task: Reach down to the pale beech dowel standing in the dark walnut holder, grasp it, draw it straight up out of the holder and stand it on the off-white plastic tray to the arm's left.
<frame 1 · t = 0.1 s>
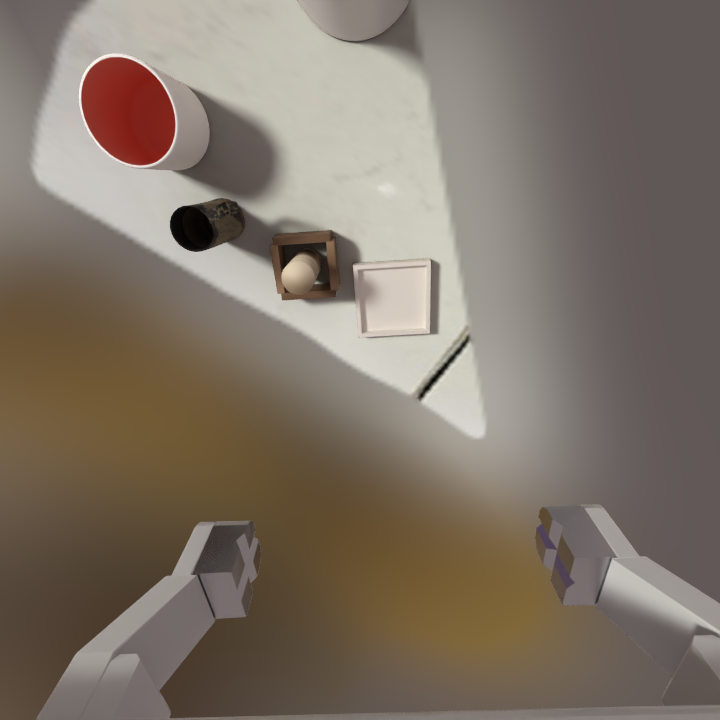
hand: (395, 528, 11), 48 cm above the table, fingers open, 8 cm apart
dowel: (303, 269, 50), in the holder
holder: (308, 262, 55), on the table
tray: (392, 297, 57), on the table
mug: (231, 216, 52), on the table
cup: (174, 126, 48), on the table
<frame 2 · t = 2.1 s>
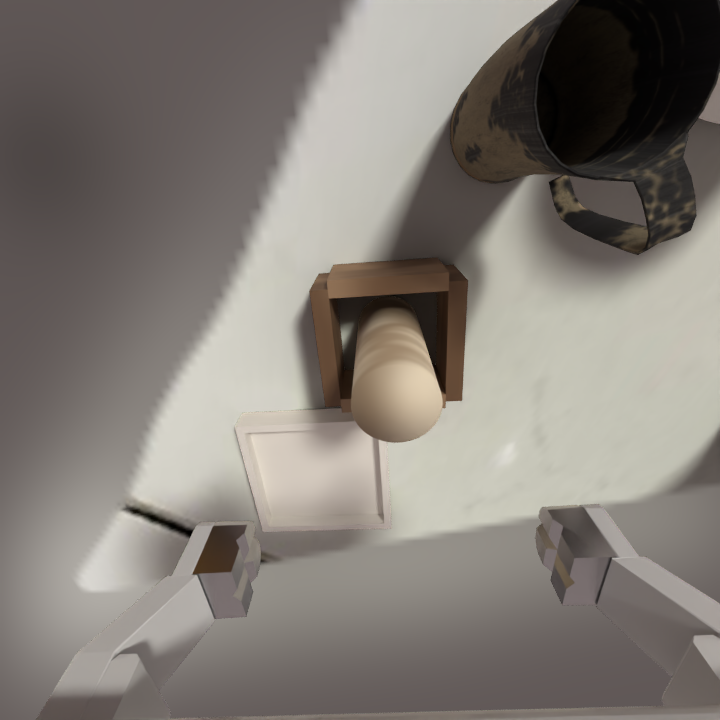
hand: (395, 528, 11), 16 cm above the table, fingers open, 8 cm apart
dowel: (391, 356, 21), in the holder
holder: (388, 324, 25), on the table
tray: (321, 465, 31), on the table
mug: (506, 146, 21), on the table
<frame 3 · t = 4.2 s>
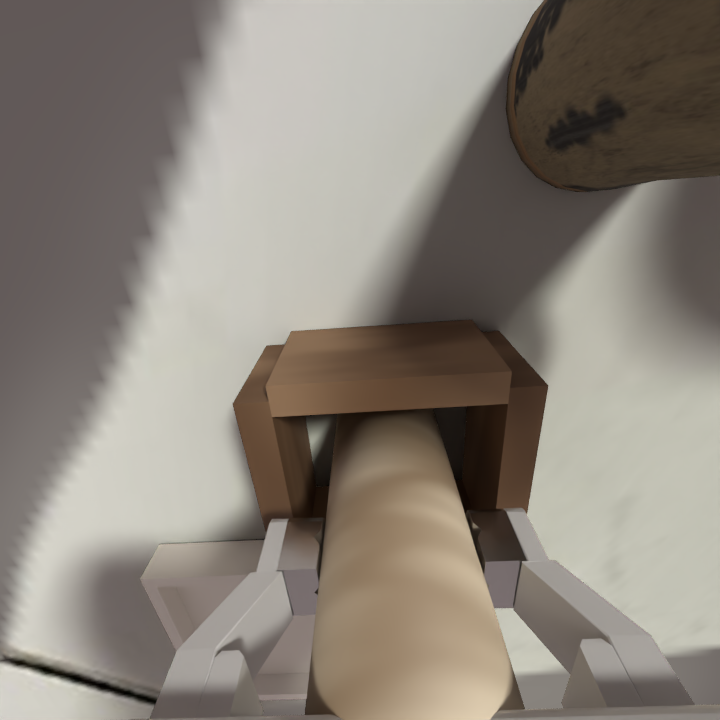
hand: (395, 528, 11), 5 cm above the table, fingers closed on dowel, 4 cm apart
dowel: (394, 523, 11), in the holder, touching gripper
holder: (385, 423, 15), on the table
tray: (286, 608, 21), on the table
mug: (610, 122, 11), on the table
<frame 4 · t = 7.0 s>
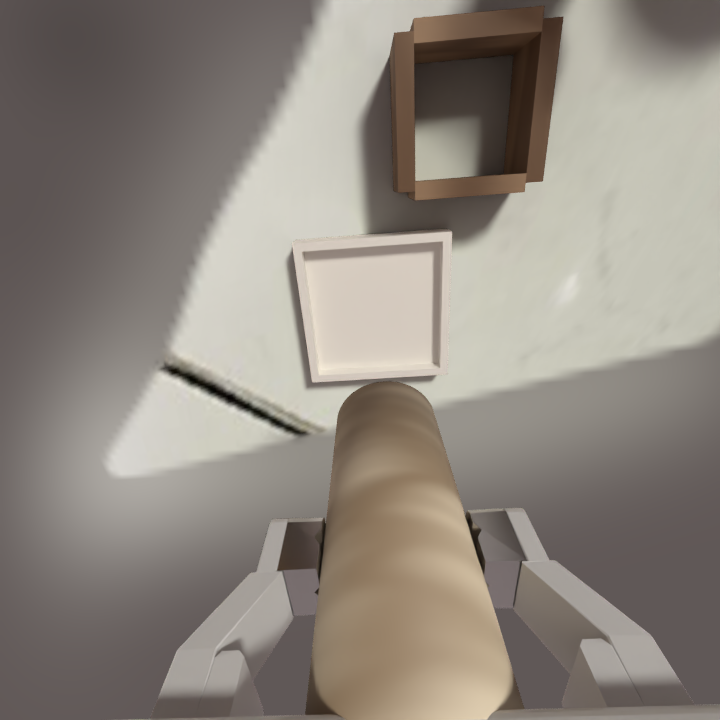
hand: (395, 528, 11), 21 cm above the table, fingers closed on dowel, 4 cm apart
dowel: (395, 525, 11), point 21 cm above the table, touching gripper
holder: (457, 122, 24), on the table
tray: (375, 306, 30), on the table
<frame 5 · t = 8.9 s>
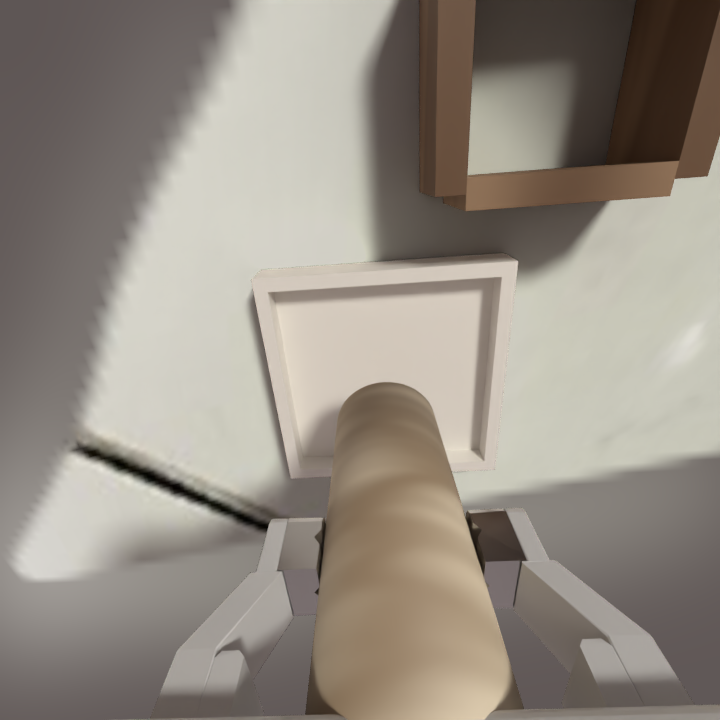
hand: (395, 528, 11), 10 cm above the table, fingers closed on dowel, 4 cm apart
dowel: (395, 525, 11), point 10 cm above the table, touching gripper
holder: (534, 73, 14), on the table
tray: (385, 368, 19), on the table
when the fingers open (7 cm above the table, at t = 10.3 s): dowel drops 1 cm, resting on tray.
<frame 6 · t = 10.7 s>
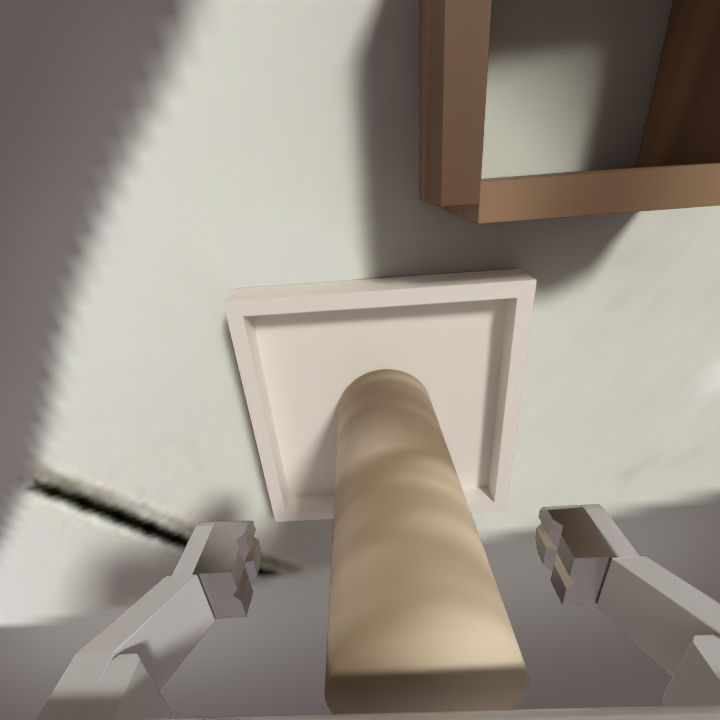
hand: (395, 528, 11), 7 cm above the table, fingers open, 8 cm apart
dowel: (397, 497, 12), in the tray, point 6 cm above the table
holder: (556, 58, 12), on the table
tray: (382, 398, 17), on the table
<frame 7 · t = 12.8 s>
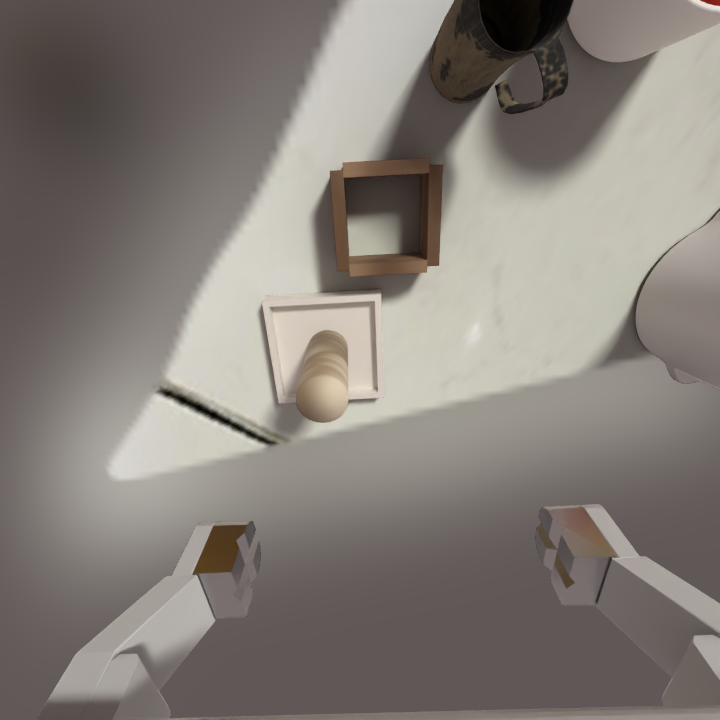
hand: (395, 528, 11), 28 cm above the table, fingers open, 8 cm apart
dowel: (325, 371, 33), in the tray, point 6 cm above the table
holder: (383, 217, 33), on the table
tray: (327, 345, 38), on the table
mug: (469, 75, 29), on the table
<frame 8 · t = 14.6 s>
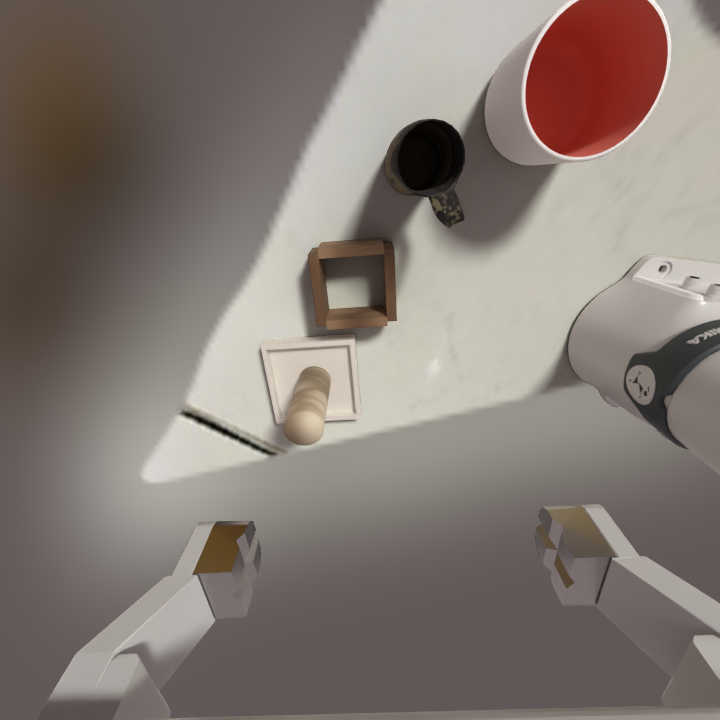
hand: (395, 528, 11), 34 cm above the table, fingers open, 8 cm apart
dowel: (309, 402, 42), in the tray, point 6 cm above the table
holder: (354, 279, 42), on the table
tray: (315, 377, 47), on the table
mug: (416, 175, 38), on the table
cup: (534, 105, 35), on the table
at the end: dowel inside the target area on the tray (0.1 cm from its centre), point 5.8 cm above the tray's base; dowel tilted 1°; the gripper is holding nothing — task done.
